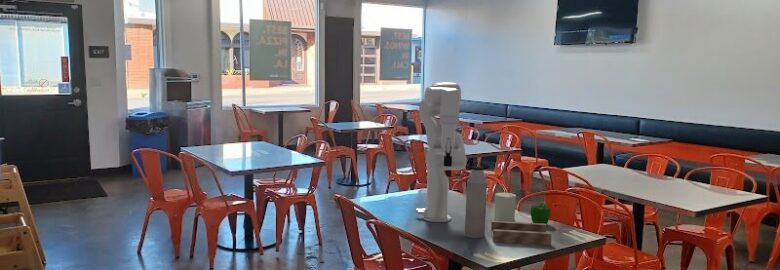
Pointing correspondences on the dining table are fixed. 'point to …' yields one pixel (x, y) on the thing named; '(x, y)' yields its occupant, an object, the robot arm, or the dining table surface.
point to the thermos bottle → (476, 203)
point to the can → (505, 207)
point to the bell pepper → (540, 213)
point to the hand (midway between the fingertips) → (447, 166)
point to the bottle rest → (520, 233)
